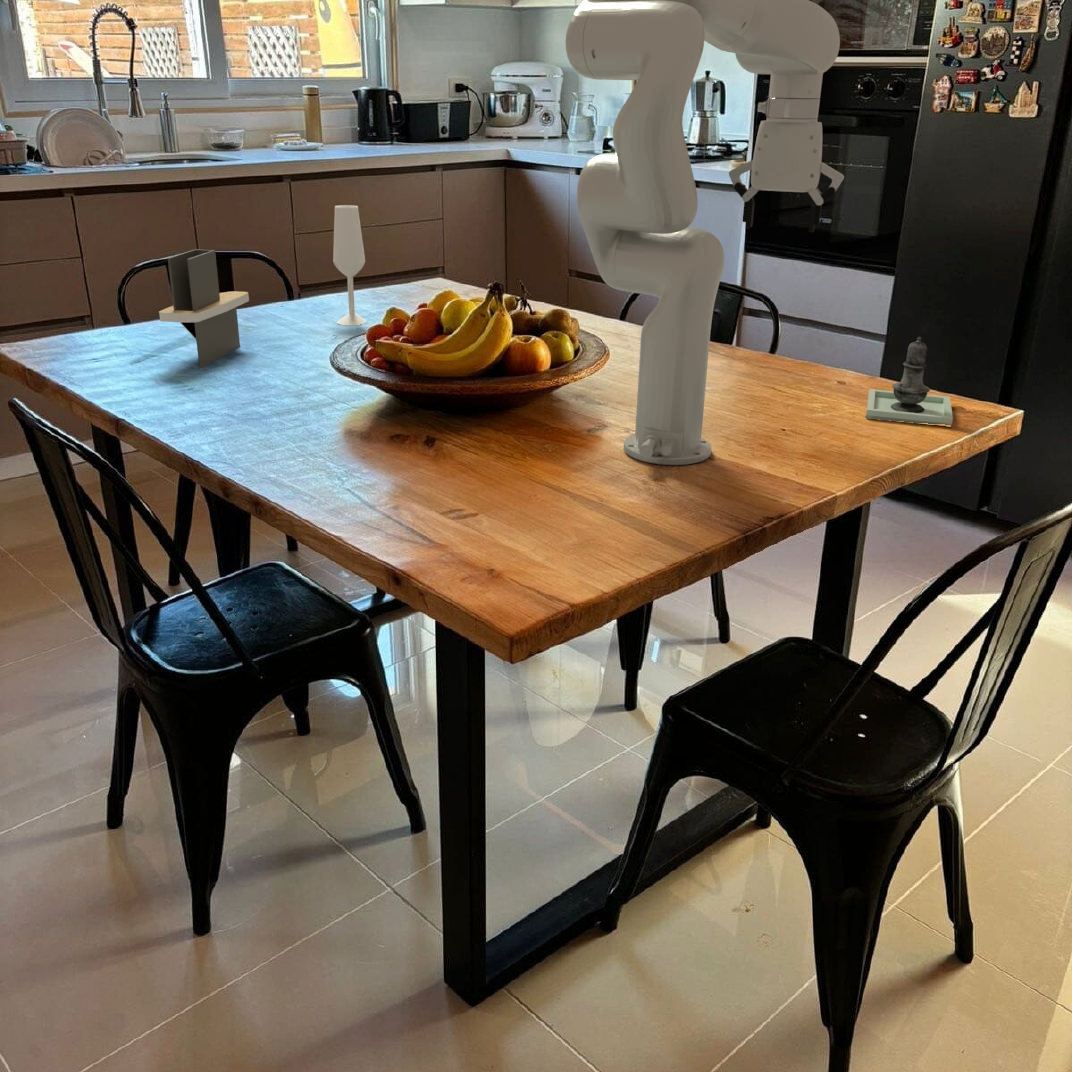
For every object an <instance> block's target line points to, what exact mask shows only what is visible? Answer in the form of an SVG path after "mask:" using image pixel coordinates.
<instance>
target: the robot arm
mask: <svg viewBox="0 0 1072 1072" xmlns="http://www.w3.org/2000/svg"><path fill="white" fill-rule="evenodd" d="M839 30H840V29H839V27H838V25H837V22H836V21H835V19H834V18H833V16H832V15H831V14H830V13H829V12H828V11H827V10H825V9H824V8H823V7H822V6H820V5H819V4H817V3H815V2H813V1H810V0H583V1H582V2H581V3H580V4H579V5H578V7H576V9H575V11H574V12H573V14H572V15H571V18H570V20H569V23H568V25H567V29H566V33H565V50H566V51H565V52H566V56H567V59H568V61H569V64H570V65H571V67H572V68H573V70H575V71H576V72H577V74H579V75H580V76H582V77H584V78H588V79H592V80H600V81H601V80H603V81H604V80H606V81H608V80H610V81H636V83H635V84H634V86H633V89H632V91H631V93H630V94H629V96H628V98H627V99H626V101H625V102H624V103H623V105H622V106H621V108H620V110H619V112H618V114H617V116H616V118H615V121H614V123H613V128H612V141H613V142H612V143H613V147H614V150H615V152H605V153H600V154H598V155H595V156H593V157H592V158H590V159H589V160H587V162H586V163H585V165H584V166H583V167H582V169H581V171H580V175H579V177H578V181H577V188H576V205H577V211H578V215H579V219H580V222H581V225H582V228H583V231H584V234H585V238H586V240H587V243H588V246H589V248H590V251H591V254H592V258H593V261H594V263H595V266H596V268H597V271H598V273H599V275H600V277H601V279H602V280H603V281H604V283H605V284H606V285H607V286H608V287H611V288H612V289H614V290H617V291H623V292H628V293H634V294H640V295H648V296H652V297H656V298H659V299H658V302H657V304H656V306H655V307H654V308H653V309H652V311H650V313H649V314H648V316H647V317H646V319H645V321H644V323H642V327H641V332H640V343H639V344H640V348H639V362H638V364H639V365H638V376H637V377H638V379H637V380H638V381H637V396H636V400H637V401H636V413H635V414H636V415H635V430H634V434H631V435H629V436H628V437H626V438H625V439H624V441H623V451H624V452H625V453H626V454H627V455H628V456H629V457H631V458H633V459H635V460H638V461H641V462H645V463H649V464H656V465H664V466H683V465H691V464H696V463H700V462H703V461H705V460H707V459H708V458H709V457H710V456H711V454H712V445H711V444H710V442H709V441H708V440H706V439H705V438H702V434H703V433H702V432H703V421H704V410H705V397H706V386H707V385H706V384H707V377H708V376H707V374H708V365H709V364H708V363H709V352H710V341H711V330H712V323H713V322H712V320H713V315H714V314H713V313H714V307H715V302H716V299H717V294H718V290H719V286H720V283H721V282H720V281H721V278H722V274H723V271H724V270H723V269H724V266H725V264H724V263H725V251H724V247H723V245H722V243H721V241H720V239H719V238H718V237H717V236H715V234H712V233H711V232H709V231H707V230H706V229H705V230H704V229H703V228H702V229H701V228H699V227H693V226H690V225H691V224H692V223H693V222H694V220H695V219H696V216H697V211H698V206H699V204H698V199H699V198H698V193H697V187H696V182H695V177H694V172H693V167H692V163H691V159H690V155H689V151H688V147H687V143H686V138H685V134H684V133H685V132H684V127H683V116H684V111H685V106H686V103H687V99H688V98H689V97H688V96H689V94H690V90H691V87H692V84H693V82H694V79H695V76H696V73H697V70H698V68H699V64H700V62H701V59H702V55H703V52H704V47H705V42H706V43H707V44H709V45H711V46H712V47H715V49H718V50H720V51H723V52H727V53H732V54H735V58H736V61H737V62H738V64H739V66H740V67H741V68H742V69H743V70H745V71H746V72H748V73H751V74H756V75H757V74H758V75H770V81H769V89H768V98H767V99H766V100H765V101H763V102H761V101H760V102H758V104H757V112H758V113H762V114H764V115H765V117H766V120H760V124H759V126H758V131H757V134H756V135H757V136H756V140H755V144H754V145H755V146H754V151H753V157H752V160H749V161H747V162H745V163H743V164H741V165H738V166H737V167H735V168H733V169H731V170H729V172H728V176H729V178H730V181H731V183H732V186H733V189H734V191H735V192H736V193H737V194H738V195H739V197H741V199H742V201H743V202H744V203H743V211H742V213H743V214H742V223H745V229H750V228H752V227H753V225H754V215H755V213H754V212H755V207H756V206H755V205H756V204H755V203H756V201H755V200H754V197H755V195H757V193H758V192H759V191H766V192H767V191H768V192H772V191H773V192H789V193H791V192H792V193H808V195H809V196H810V197H811V199H812V200H813V202H812V205H810V214H809V224H808V230H807V231H808V232H809V233H814V231H815V228H816V227H820V222H821V214H822V205H823V204H824V203H826V201H828V199H830V198H831V197H832V196H833V195H834V194H835V193H836V191H837V190H838V188H839V187H840V186H841V184H842V182H843V181H844V179H845V175H844V174H843V173H841V172H839V171H838V170H836V169H834V168H832V167H831V166H829V165H827V164H826V163H824V162H822V159H823V124H822V122H821V121H818V119H819V109H820V102H821V92H822V85H823V77H824V76H823V75H824V73H825V72H827V71H828V70H829V69H830V68H832V66H833V65H834V63H835V62H836V60H837V58H838V55H839V51H840V46H841V41H840V40H841V38H840V37H841V36H840V31H839ZM749 171H750V172H751V173H750V184H751V186H750V187H749V188H747V187H746V186H745V185H744V183H742V179H741V175H744V174H745V173H747V172H749ZM821 174H823V175H824V176H826V177H828V178H829V179H831V183H830V185H829V186H828V188H827V189H825V190H824V191H822V192H821V191H820V189H819V188H818V186H819V183H820V178H821Z"/></svg>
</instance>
